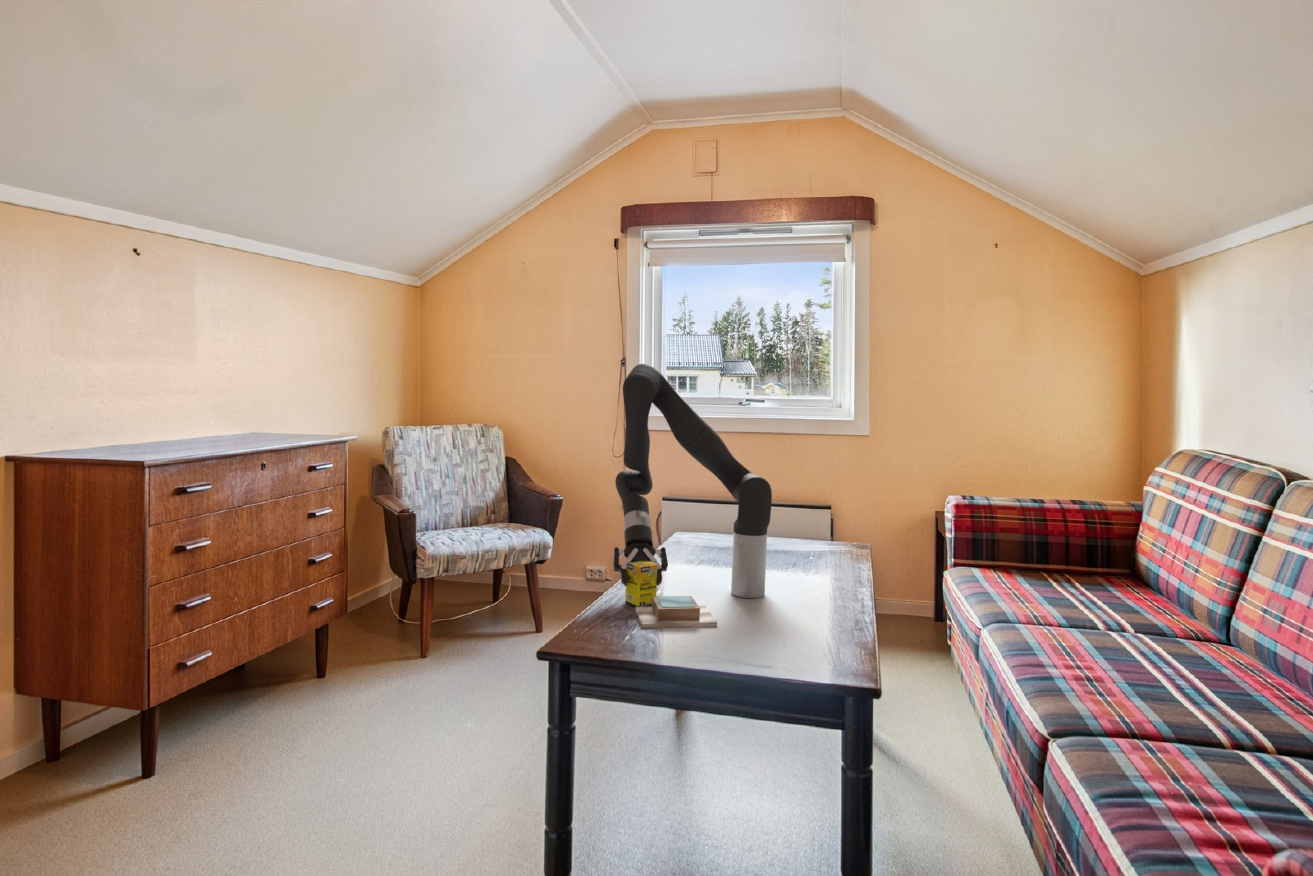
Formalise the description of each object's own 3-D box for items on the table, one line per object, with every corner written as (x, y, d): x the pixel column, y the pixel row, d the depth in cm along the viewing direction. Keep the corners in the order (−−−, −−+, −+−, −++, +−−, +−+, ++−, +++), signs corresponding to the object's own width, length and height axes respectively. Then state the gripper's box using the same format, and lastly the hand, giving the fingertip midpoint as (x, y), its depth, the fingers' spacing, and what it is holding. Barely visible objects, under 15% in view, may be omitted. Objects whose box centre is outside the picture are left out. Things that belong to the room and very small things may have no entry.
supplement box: (638, 609, 180) (640, 567, 179) (624, 603, 184) (625, 562, 184) (656, 605, 184) (658, 564, 183) (642, 599, 188) (643, 559, 187)
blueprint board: (635, 610, 179) (635, 594, 179) (705, 609, 182) (705, 593, 181) (642, 628, 166) (642, 610, 166) (717, 626, 169) (717, 609, 168)
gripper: (612, 523, 189) (615, 577, 178) (665, 523, 191) (671, 576, 181) (610, 538, 195) (613, 591, 184) (661, 538, 197) (667, 591, 186)
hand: (642, 584), depth 182 cm, fingers closed on supplement box, 8 cm apart
